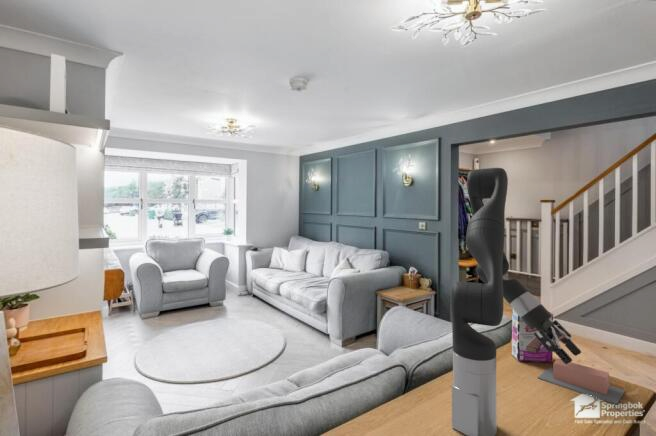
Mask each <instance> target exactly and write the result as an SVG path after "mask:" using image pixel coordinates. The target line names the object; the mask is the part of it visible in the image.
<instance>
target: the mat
mask: <svg viewBox="0 0 656 436" xmlns="http://www.w3.org/2000/svg"><path fill="white" fill-rule="evenodd" d="M538 378H539V380H541V379H542V380H541V381H543V382H544V381H545V382H547V383H551V384H554V385H557V386H559V387H562V388H565V389H569V390H571V391H574V392H576V393H580V394H583V395H586V394H588V395H587V396H589V395H592V396H595V397H597V398H596V399H598V398H599V399H598V400H601V401H605V402H607V403H610V404H612V405H616V406H617V405H618V403H619V402H620V401H621V398H622V397H623V396H624V394H625V392H626V390H625V389H622V388H619V387H616V386H612V385H609V390H608V392H607V394H606V395H605V394H602V393H599V392H596V391H592V390H589V389H586V388H583V387H580V386H576V385H573V384H570V383H567V382H564V381H560V380H557V379H554V378H553V367H550V366H549V367H548V368H547V369H545V370H544V371H543V372H542V373H541V374H539V376H537V379H538ZM592 396H591V397H592ZM595 397H594V398H595Z"/></svg>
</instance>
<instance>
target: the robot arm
mask: <svg viewBox="0 0 656 436" xmlns="http://www.w3.org/2000/svg"><path fill="white" fill-rule="evenodd" d="M508 186H509V181H508V174H507V171H506V170H505V169H504V168H502V167H489V168H479V169H477V168H476V169H472V170H470V171H469V172H468V174H467V178H466V189H467V195H468V199H469V203H470V206H471V212H472V216H471V218H470V219H469V221H468V222H467V223H468V224H467V226H466V234H465V246H466V248H467V250H468V252H469V253H470V255H471V256H472V257H473V259H474V261H475V262H476V264H477V265H476V268H475V271H476V274H477V277H478V278H479V279H480V280H481V281H482V282H483V283H481V282H472V281H471V282H470V281H456V282H454V284H453V285H452V288H451V289H450V290H451V291H450V312H451V325H452V326H451V327H452V386H451V428H452V429H454V430H456V431H458V432H460V433H461V434H463V435H465V436H496V434H497V432H498V431H497V430H498V427H497V426H498V424H497V423H498V420H497V419H498V417H497V411H498V408H497V407H498V406H497V405H498V404H497V401H498V400H497V397H498V396H497V345H496V342H495V341H494V340H493V339H492V338H490V337H488V336H486V335H484V334H483V333H480V331H477V330H476V329H474V328H473V327H472V326H471V325H470V324H473V325H481V326H487V327H488V326H489V327H498V326H499V325H500V324H501V323H502V320H503V316H504V300H505V301H506V302H507V303H508V304H509V305H510V307H511V308H512V309H514V311H515V312H516V313H517V314H518V315H519V317H520V318H521V319H522V320H523V321H524V322H525V323H526V324H527V326H528V327H529V328H530V329H534V328H536V329H537V330H538V331H537V332H535V333H534V335H535V336H536V337H537V338H538V340H539V341H540V342H541V343H542V344H543V346H544V347H545V348H546V349H547V350H548V351H549V352H551V351H552V352H553V353H555V354H556V356H557V357H558V359H561V360H562V361H563V362H564V363H565V364H568V363H570V362H573V359H572V357H571V356H570V355H569V353H567V352H566V351H565V350H564V349H563V348H562V347H561V345H560V343H562V344H563V345H564V347H566V348H567V349H568V350H569V352H570V353H571V354H572V355H574V356H575V357H576V356H578V355H580V354H581V353H582V351H581V349H580V348H579V347H578V346H577V345H576V344H575V343H574V342H573V341H572V335H571V334H570V333H569V331H568V330H567V329H566V328H565V327H564V326H563V325H562V324H561V323H560V322H559V321H557V319H554V320H553V322H551V321H550V320H549V319H550V318H551V317H552V315H551V314H550V313H551V312H550V311H549V310H547V308H545V306H544V305H543V304H542V303H541V302H540V301H539V300H538V299H537V298H536V297H535V296H534V295H533V294H532V293H531V292H529V291H528V289H527V288H526V286H524V284H523V285H522V283H521V282H520V281H519V280H518V279H516V278H511V279H504V278H503V277H504V276H505V275H507V273H508V272H509V270H510V263H509V260H508V258H507V256H506V254H505V251H504V247H505V235H506V234H505V231H506V227H505V225H506V223H505V221H506V220H505V219H506V217H505V216H506V215H505V211H506V210H505V209H506V201H507V195H508ZM483 199H484V200H485V199H488V201H487V202H486V203H485V204H484V205H483V203H482V200H483ZM549 312H550V313H549ZM548 345H549V346H548Z"/></svg>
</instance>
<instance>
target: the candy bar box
mask: <svg viewBox="0 0 656 436" xmlns="http://www.w3.org/2000/svg"><path fill="white" fill-rule="evenodd" d="M548 312H549V313H550V314H551V315H552V317H551V318H550V319H549V320H550V321H551V322H553V321H554V314H553V312H550V311H548ZM537 331H538V330H537V329H536V328H534V329H530V328H529V327H528V326H527V324H526V323H525V322H524V321H523V320H522V319H521V318H520V317H519V315H518V314H517V313H516V312H515V311H514V309H513V308H512V309H511V356H512V357H513V358H514V359H515V360H516V361H518V362H530V363H531V362H532V363H534V362H538V363H539V362H540V363H553V355H554V352H552V351H551V352H549V351H548V350H547V349H546V348H545V347H544V346H543V344H542V343H541V342H540V341H539V340H538V338H537V337H536V336H535V335H534V333H535V332H537ZM548 346H549V345H548Z"/></svg>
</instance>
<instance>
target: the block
mask: <svg viewBox="0 0 656 436" xmlns="http://www.w3.org/2000/svg"><path fill="white" fill-rule="evenodd" d="M552 363H553V364H552V365H553V367H552V368H553V378H554V379H557V380H560V381H564V382H567V383H570V384H573V385H576V386H580V387H583V388H586V389H589V390H592V391H596V392H599V393H602V394H605V395H606V394H607V392H608V390H609V386H610V372H609V371H604V370H601V369H596V368H593V367H590V366H585V365H583V364H579V363H575V362H573V361H571V362H570V363H568V364H565V363H564V362H563V361H562V360H561V359H560V358H557V359H556V360H555V361H553V362H552Z"/></svg>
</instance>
